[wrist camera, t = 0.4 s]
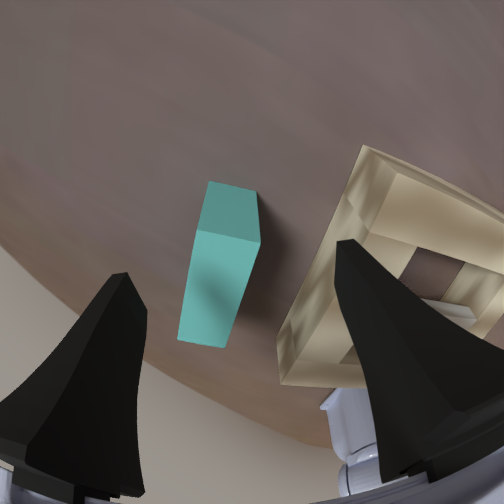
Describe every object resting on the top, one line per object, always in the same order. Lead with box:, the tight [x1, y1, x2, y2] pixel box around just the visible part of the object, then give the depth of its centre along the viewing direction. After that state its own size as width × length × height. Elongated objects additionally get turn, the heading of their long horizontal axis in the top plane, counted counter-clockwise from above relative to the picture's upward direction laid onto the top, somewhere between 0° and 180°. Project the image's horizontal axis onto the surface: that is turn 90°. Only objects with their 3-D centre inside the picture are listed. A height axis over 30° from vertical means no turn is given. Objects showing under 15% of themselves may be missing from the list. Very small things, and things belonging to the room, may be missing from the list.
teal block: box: [177, 181, 261, 348], centre depth 19 cm, size 8×3×6 cm, turn 165°
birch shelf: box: [276, 145, 504, 388], centre depth 22 cm, size 18×18×5 cm
